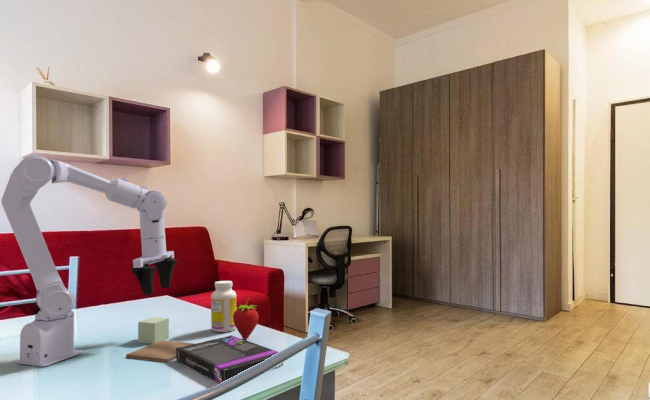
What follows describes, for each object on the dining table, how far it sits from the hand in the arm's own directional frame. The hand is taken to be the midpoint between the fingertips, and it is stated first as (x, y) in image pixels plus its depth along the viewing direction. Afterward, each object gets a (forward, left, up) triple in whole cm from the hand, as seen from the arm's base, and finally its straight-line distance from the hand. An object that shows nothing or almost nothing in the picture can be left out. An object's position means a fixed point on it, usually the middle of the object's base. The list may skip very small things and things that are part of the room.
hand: (157, 291), depth 106 cm
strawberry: (+5, -22, -12) cm, 26 cm away
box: (-11, -27, -13) cm, 32 cm away
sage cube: (-2, 0, -12) cm, 12 cm away
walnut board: (-9, -9, -12) cm, 17 cm away
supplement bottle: (+11, -12, -12) cm, 21 cm away
